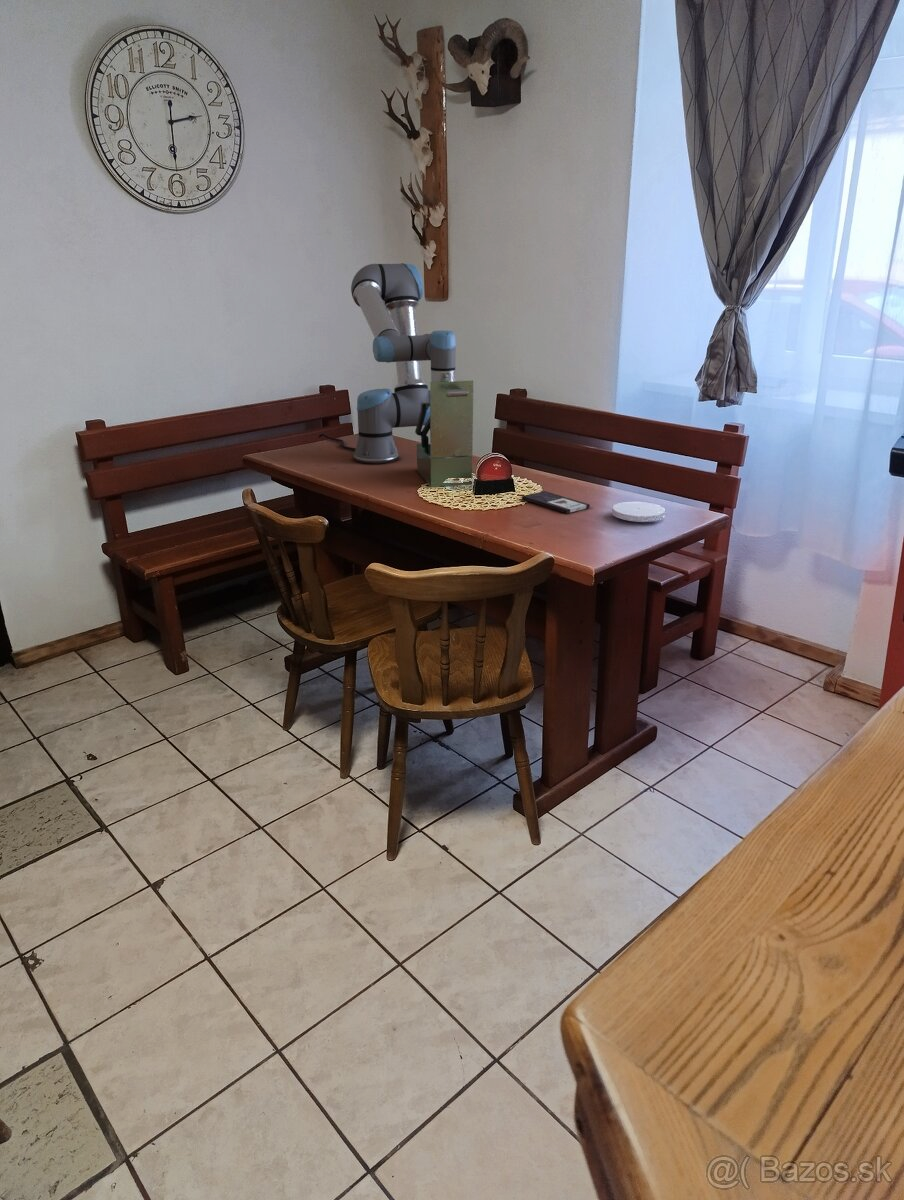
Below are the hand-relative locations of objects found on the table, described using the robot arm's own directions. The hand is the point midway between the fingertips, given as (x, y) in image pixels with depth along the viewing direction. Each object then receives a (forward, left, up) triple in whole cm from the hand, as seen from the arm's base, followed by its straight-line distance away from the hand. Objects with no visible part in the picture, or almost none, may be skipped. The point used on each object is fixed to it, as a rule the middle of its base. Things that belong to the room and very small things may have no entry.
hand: (443, 456), depth 257 cm
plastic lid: (+55, +41, -7) cm, 69 cm away
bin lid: (+11, 0, +13) cm, 17 cm away
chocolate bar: (+37, +24, -7) cm, 45 cm away
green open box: (0, 0, -7) cm, 7 cm away
